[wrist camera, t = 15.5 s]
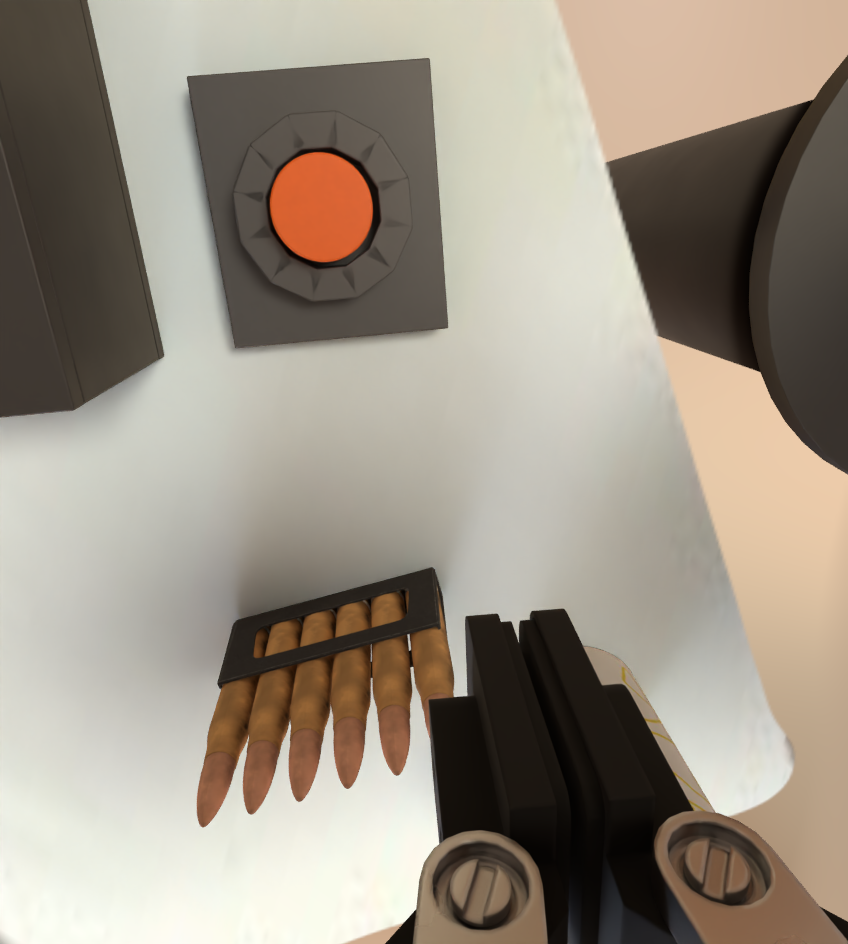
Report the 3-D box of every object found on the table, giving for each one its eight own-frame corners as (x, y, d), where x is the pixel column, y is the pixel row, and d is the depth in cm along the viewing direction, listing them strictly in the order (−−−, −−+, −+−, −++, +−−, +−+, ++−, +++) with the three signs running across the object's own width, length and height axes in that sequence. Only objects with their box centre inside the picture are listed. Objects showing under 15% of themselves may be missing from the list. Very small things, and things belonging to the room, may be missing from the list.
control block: (426, 68, 26) (434, 44, 23) (443, 323, 30) (453, 334, 26) (197, 85, 26) (172, 64, 23) (242, 342, 29) (226, 355, 26)
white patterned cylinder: (661, 719, 38) (784, 920, 27) (541, 786, 39) (610, 1007, 28) (597, 620, 36) (702, 798, 24) (470, 694, 37) (515, 899, 25)
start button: (367, 153, 24) (367, 147, 23) (377, 256, 26) (378, 257, 24) (268, 161, 24) (261, 156, 23) (284, 264, 25) (278, 266, 24)
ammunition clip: (245, 650, 35) (186, 851, 23) (233, 621, 34) (166, 813, 23) (442, 597, 34) (479, 773, 23) (434, 566, 34) (467, 733, 23)
